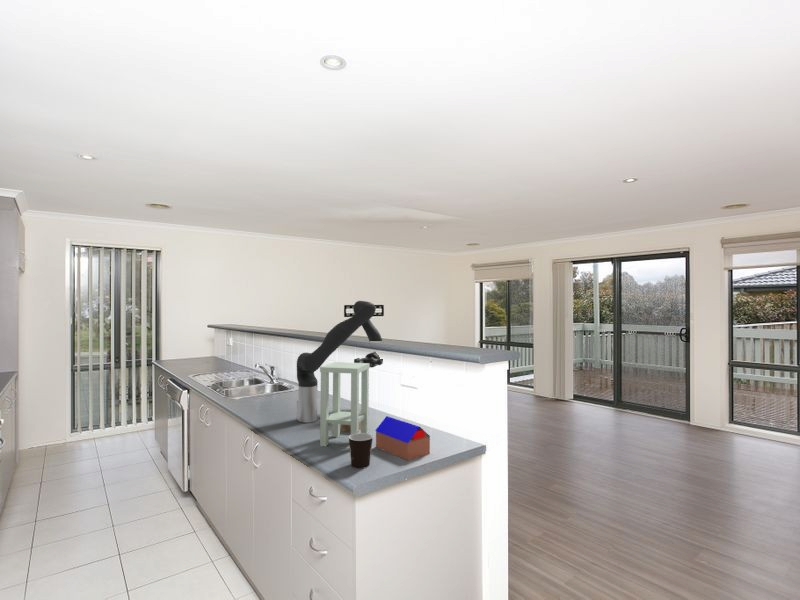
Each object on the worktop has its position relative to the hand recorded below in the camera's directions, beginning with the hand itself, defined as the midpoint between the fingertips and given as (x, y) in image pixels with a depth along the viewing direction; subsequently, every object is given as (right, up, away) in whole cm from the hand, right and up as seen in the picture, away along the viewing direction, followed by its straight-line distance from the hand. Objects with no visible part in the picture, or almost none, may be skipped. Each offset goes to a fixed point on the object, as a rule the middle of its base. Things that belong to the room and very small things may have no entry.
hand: (364, 363), depth 214 cm
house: (+19, -28, -45) cm, 57 cm away
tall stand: (-5, -28, -36) cm, 45 cm away
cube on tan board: (-3, -28, -12) cm, 30 cm away
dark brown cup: (+4, -27, -60) cm, 66 cm away
